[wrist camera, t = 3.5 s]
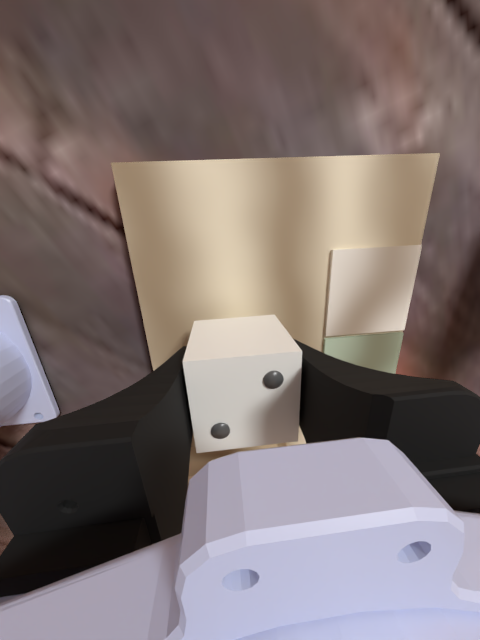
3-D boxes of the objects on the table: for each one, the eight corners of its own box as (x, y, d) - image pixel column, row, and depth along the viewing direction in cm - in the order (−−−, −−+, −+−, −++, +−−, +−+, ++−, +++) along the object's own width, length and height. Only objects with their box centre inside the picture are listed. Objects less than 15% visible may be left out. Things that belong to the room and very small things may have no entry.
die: (202, 389, 13) (196, 455, 9) (194, 320, 11) (181, 363, 7) (274, 381, 13) (298, 442, 9) (274, 314, 11) (303, 351, 8)
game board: (189, 523, 19) (183, 571, 17) (120, 169, 11) (84, 144, 8) (358, 501, 20) (380, 543, 18) (422, 160, 12) (486, 134, 9)
